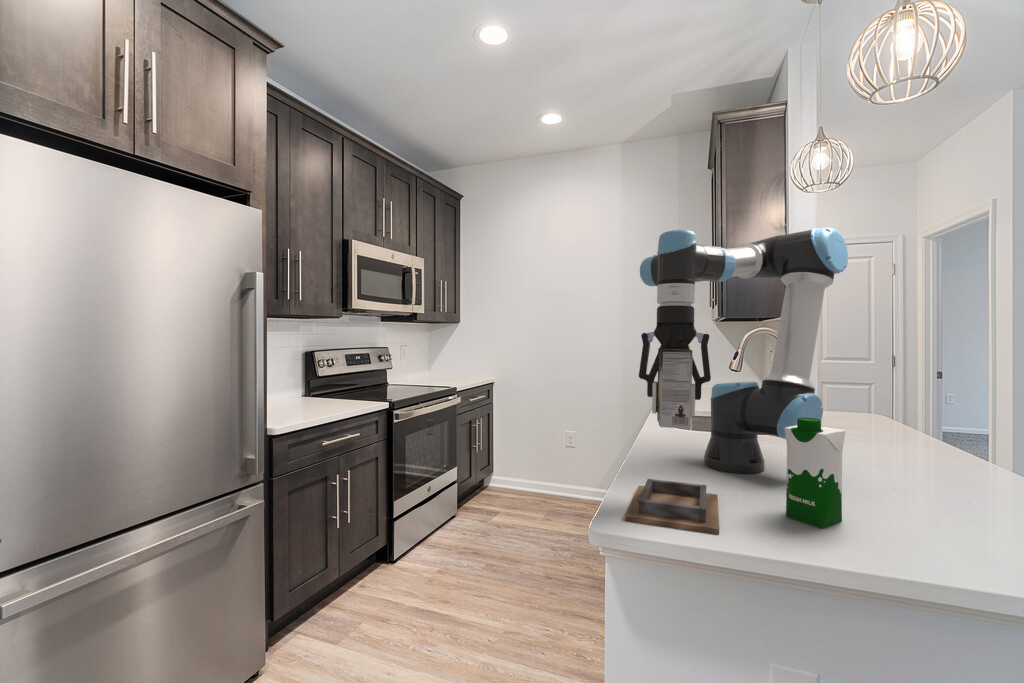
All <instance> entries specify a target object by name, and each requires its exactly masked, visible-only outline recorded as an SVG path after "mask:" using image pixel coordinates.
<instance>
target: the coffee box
mask: <svg viewBox="0 0 1024 683" xmlns="http://www.w3.org/2000/svg"><path fill="white" fill-rule="evenodd" d="M659 348H660V347H659ZM659 348H658V349H657V351H659ZM693 353H694V352H693V350H692V349H691V348H690V349H689V350H687V349H675V348H674V349H660V353H659V368H658V372H657V382H658V397H657V413H656V420H657V423H658V426H659V428H669V429H670V428H673V429H686V430H687V429H689V430H690V429H692V425H691V424H692V416H691V394H692V384H693V376H692V357H693ZM693 358H694V357H693Z"/></svg>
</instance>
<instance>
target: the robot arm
mask: <svg viewBox="0 0 1024 683" xmlns="http://www.w3.org/2000/svg"><path fill="white" fill-rule="evenodd" d="M697 242H698V241H697V236H696V232H694V231H692V230H690V229H689V230H688V229H674V230H668V231H664V232H663V233H661V234H660V236H659V237H658V246H657V252H656V254H655V255H652V256H648V257H646V258H644V260H642V262H641V263H640V265H639V276H640V277H639V278H640V279H641V281H642V282H643V283H644V284H645V285H646V286H648V287H657V289H656V303H657V304H658V305H659V306H657V308H656V326H655V329H654V330H653V331H651V332H643V333H641V335H640V336H641V340H642V349H641V356H640V363H639V369H638V370H639V372H638V378H639V379H641V380H644V381H646V383H647V384H646V385H647V387H646V388H647V389H646V391H647V392H646V395H647V397H648V398H652V399H651V400H652V401H651V402H652V403H651V404H652V405H651V414H656V415H657V397H658V381H655V380H656V376H657V375H658V368H659V353H660V349H674V348H675V349H687V350H689V349H690V350H691V347H690V344H691V343H692V342H693V340H694V339H695V338H697V342H698V343H699V344H700V350H701V353H700V354H701V360H702V370H703V371H702V372H703V376H701V375H700V372H699V369H698V367H697V364H696V363H695V360H694V357H692V379H693V381H694V383H692V394H691V417H695V416H696V401H700V400H701V398H702V385H703V384H705V383H709V382H710V381H711V380H712V375H711V368H710V357H709V348H708V344H709V340H710V334H709V333H702V332H697V330H696V328H695V307H694V305H693V304H695V302H696V300H695V299H696V298H695V297H696V296H695V295H696V294H695V293H696V285H695V284H696V283H697V282H712V283H715V282H717V283H718V282H725V281H727V280H729V279H730V278H733V277H738V278H740V279H755V278H757V279H759V278H760V279H780V281H781V282H782V283H783V284H784V285H785V292H784V297H783V302H782V307H781V313H780V320H779V325H778V330H777V335H776V341H775V342H776V343H775V346H774V352H773V358H772V364H771V369H770V374H769V375H767V376H766V377H764V378H763V379H762V381H761V382H762V383H761V387H760V386H759V384H758V382H757V381H738V382H736V381H735V382H725V383H724V382H723V383H722V382H721V383H715V384H713V386H712V387H711V395H710V437H709V441H708V443H707V445H706V449H705V452H704V454H703V464H704V465H705V466H707V467H708V468H711V469H714V470H717V471H722V472H726V473H733V474H757V473H762V472H763V471H764V470H765V467H766V466H765V459H764V455H763V452H762V449H761V447H760V444H759V440H758V434H761V435H766V436H772V437H777V438H781V439H783V440H786V435H785V428H786V427H791V426H796V425H797V418H815V419H819V420H821V421H822V418H823V413H824V407H823V402H822V400H821V398H820V396H818V395H817V394H815V392H816V387H815V386H814V385H813V384H812V383H811V381H810V378H811V377H810V376H811V374H812V368H813V367H812V366H813V361H814V353H815V348H816V343H817V338H818V330H819V325H820V318H821V313H822V307H823V301H824V295H825V290H826V289H827V288H829V287H830V286H832V285H833V283H834V278H835V274H836V275H838V274H840V273H842V272H844V271H845V269H846V268H847V266H848V262H849V252H848V246H847V244H846V240H845V239H844V237H843V235H842V234H841V233H840V232H839V231H838V229H835V228H833V227H820V228H815V227H814V228H812V229H809V230H804V231H798V232H793V233H786V234H779V235H774V236H771V237H767V238H764V239H763V238H762V239H760V240H756V241H752V242H748V243H747V242H746V243H742V244H739V245H737V247H734V248H733V247H732V248H731V247H730V248H724V247H721V246H719V245H718V246H711V245H705V244H704V245H703V244H699V243H697ZM654 337H655V338H656V339H657V341H658V342H659V343H660V345H659V346H660V347H659V351H658V350H657V351H658V352H657V354H656V356H655V359H654V361H653V363H652V365H651V369H650V371H649V374H648V373H647V370H648V363H649V356H650V349H651V343H652V342H653V340H654Z"/></svg>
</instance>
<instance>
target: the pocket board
mask: <svg viewBox="0 0 1024 683" xmlns="http://www.w3.org/2000/svg"><path fill="white" fill-rule="evenodd" d="M718 498H719V497H718V494H715V493H708V492H707V484H700V483H699V484H698V483H689V482H680V481H671V480H661V479H652V478H647V479H646V482H645V485H638V486H637V488H636V491H635V493H634V495H633V497H632V500H631V502H630V503H629V506H628V508H627V511H626V513H625V515H624V521H625V522H631V523H636V524H637V523H638V524H645V525H651V526H657V527H658V526H659V527H664V528H671V529H680V530H685V531H692V532H700V533H707V534H714V535H720V519H719V518H720V516H719V500H718Z"/></svg>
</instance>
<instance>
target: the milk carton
mask: <svg viewBox="0 0 1024 683" xmlns="http://www.w3.org/2000/svg"><path fill="white" fill-rule="evenodd" d="M785 435H786V439H785V440H786V494H785V496H786V499H785V500H786V503H785V517H787V518H790V519H792V520H796V521H799V522H801V523H805V524H808V525H811V526H813V527H816V528H820V529H825V528H827V527H830V526H832V525H835V523H836V524H837V523H838V524H839V523H841V522H842V521H843V510H842V508H843V505H842V504H843V503H842V502H843V501H842V500H843V499H842V498H843V496H842V495H843V494H842V492H843V451H844V450H843V449H844V443H845V437H846V430H845V429H838V428H832V427H825V426H822V419H821V420H819V419H815V418H797V425H796V426H791V427H786V428H785ZM840 521H841V522H840Z"/></svg>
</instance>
